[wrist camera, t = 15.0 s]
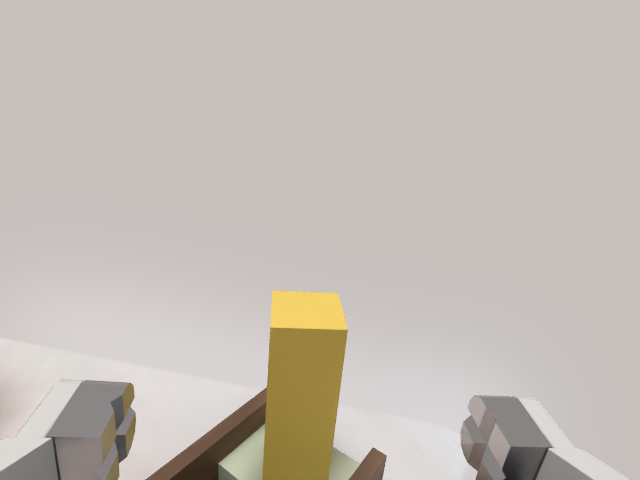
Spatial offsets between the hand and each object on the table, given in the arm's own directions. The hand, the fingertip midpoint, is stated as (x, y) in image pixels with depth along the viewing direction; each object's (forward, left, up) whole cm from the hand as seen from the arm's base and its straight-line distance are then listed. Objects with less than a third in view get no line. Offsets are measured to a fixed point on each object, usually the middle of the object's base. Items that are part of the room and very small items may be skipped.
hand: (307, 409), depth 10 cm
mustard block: (-7, +10, -16) cm, 21 cm away
